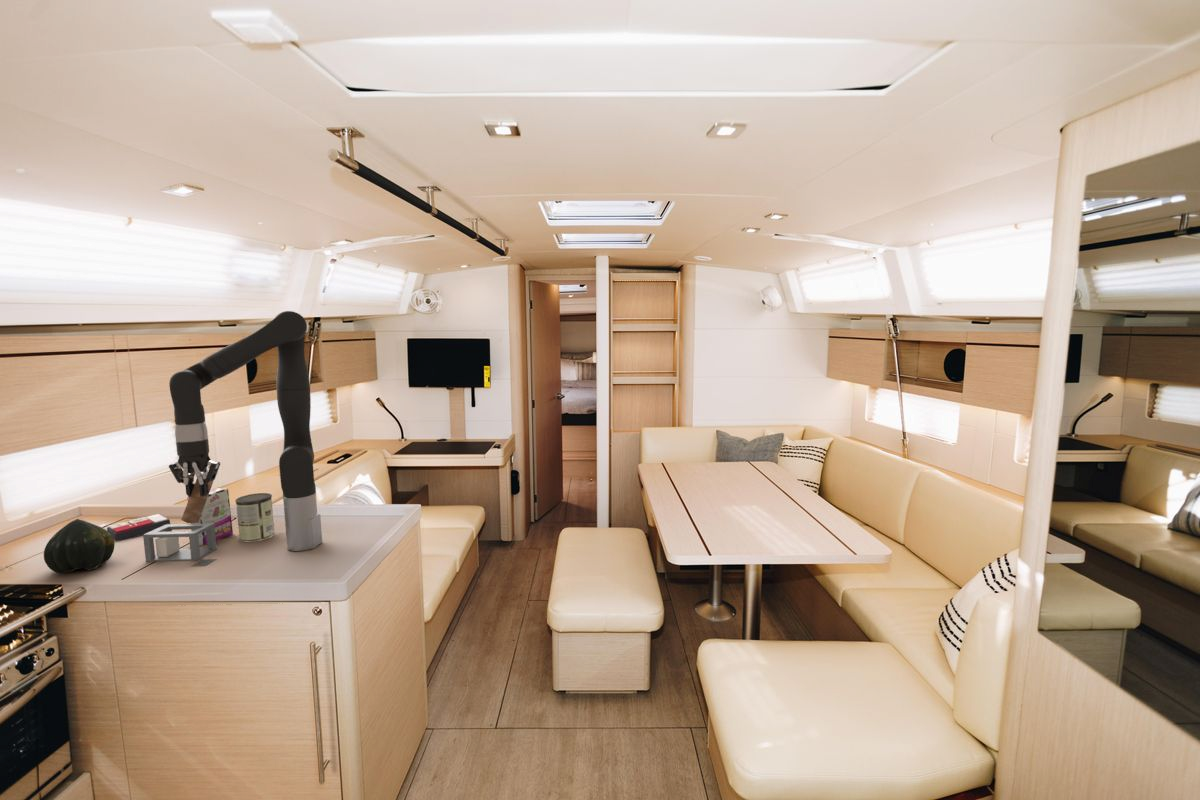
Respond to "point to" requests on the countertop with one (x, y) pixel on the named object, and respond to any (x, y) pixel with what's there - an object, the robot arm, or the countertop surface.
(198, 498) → the wooden block
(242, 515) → the coffee can
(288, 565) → the countertop surface
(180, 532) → the breaker guard
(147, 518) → the flat navy red box
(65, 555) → the squash
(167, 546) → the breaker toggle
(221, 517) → the candy bar box
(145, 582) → the countertop surface
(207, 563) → the stylus pad
